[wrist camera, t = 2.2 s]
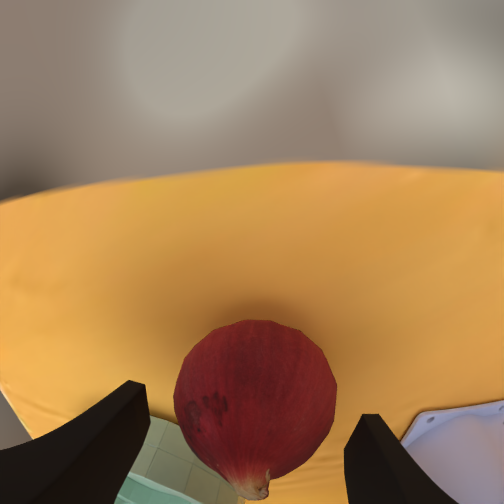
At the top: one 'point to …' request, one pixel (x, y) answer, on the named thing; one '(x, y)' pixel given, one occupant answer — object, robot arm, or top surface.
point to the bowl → (172, 473)
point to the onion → (255, 402)
